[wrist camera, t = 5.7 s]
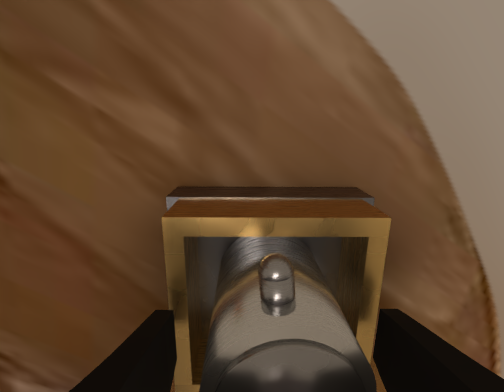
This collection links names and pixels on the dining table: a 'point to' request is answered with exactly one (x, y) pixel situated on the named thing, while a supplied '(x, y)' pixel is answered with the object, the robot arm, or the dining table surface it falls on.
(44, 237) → the dining table surface
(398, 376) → the robot arm
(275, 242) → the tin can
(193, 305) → the grey and gold fixture
